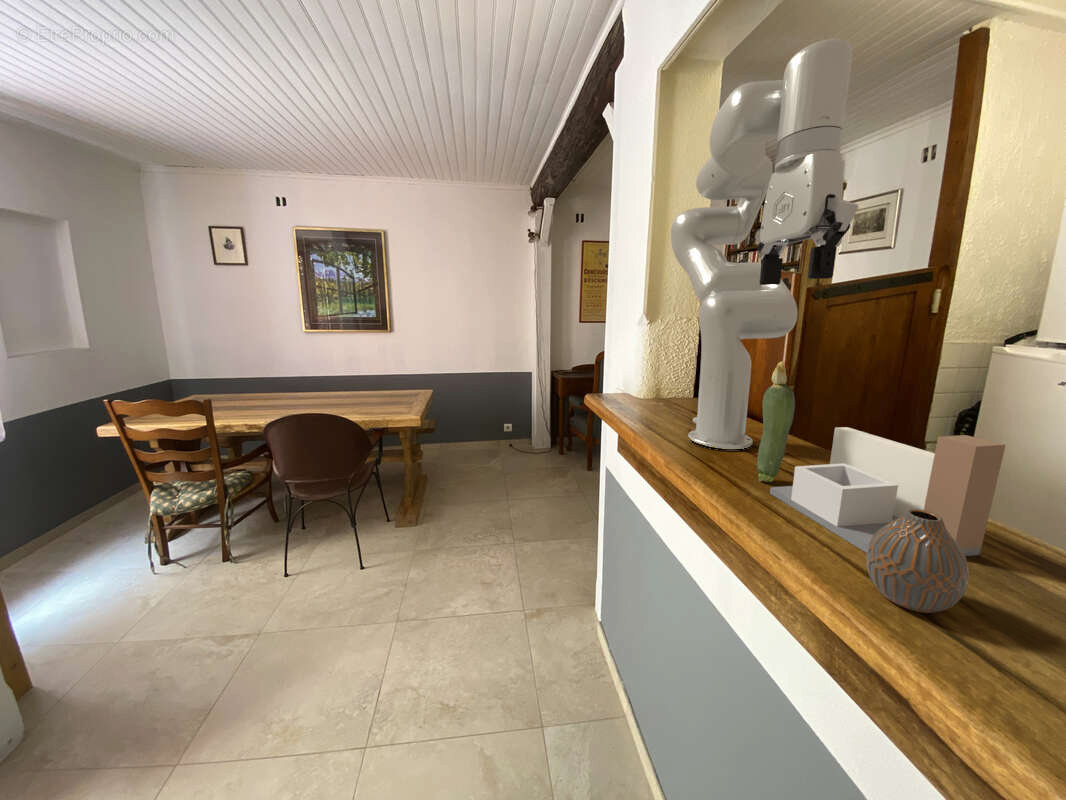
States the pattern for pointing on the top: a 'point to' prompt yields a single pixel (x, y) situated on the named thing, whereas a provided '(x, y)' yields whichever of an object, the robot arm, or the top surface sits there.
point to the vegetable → (775, 424)
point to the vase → (918, 563)
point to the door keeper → (898, 486)
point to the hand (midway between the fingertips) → (792, 281)
